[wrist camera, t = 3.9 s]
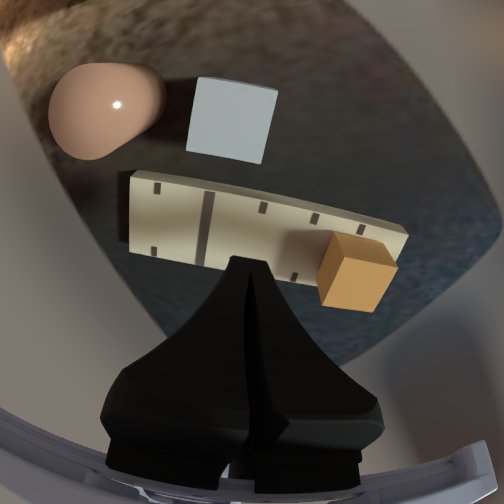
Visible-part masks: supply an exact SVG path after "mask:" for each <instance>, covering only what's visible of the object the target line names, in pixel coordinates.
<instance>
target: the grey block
mask: <svg viewBox="0 0 504 504" xmlns="http://www.w3.org/2000/svg"><path fill="white" fill-rule="evenodd" d="M277 94H278V91H277V90H276V89H274V88H270V87H265V86H260V85H255V84H250V83H245V82H239V81H234V80H228V79H222V78H215V77H198V81H197V86H196V92H195V97H194V103H193V109H192V114H191V120H190V127H189V133H188V140H187V146H186V151H192V152H198V153H204V154H210V155H216V156H221V157H227V158H232V159H237V160H242V161H247V162H252V163H257V164H261V161H262V156H263V152H264V148H265V144H266V140H267V135H268V131H269V127H270V123H271V119H272V115H273V111H274V107H275V103H276V98H277Z"/></svg>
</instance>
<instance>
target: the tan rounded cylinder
mask: <svg viewBox="0 0 504 504" xmlns="http://www.w3.org/2000/svg"><path fill="white" fill-rule="evenodd" d="M166 103H167V89H166V85H165V82H164V80H163V78H162V77H161V75H160V74H159V73H158V72H157V71H156V70H155V69H153V68H152V67H150V66H148V65H145V64H141V63H90V64H84V65H80V66H78V67H76V68H74V69H72V70H70V71H69V72H68V73H67V74H65V75H64V76H63V77H62V78H61V80H60V81H59V82H58V84H57V85H56V87H55V89H54V91H53V93H52V96H51V99H50V103H49V111H48V118H49V125H50V129H51V132H52V135H53V137H54V139H55V141H56V142H57V144H58V145H59V146H60V147H61V148H62V149H63V150H64V151H65V152H66V153H68V154H69V155H71V156H73V157H75V158H78V159H82V160H94V159H98V158H101V157H103V156H106V155H107V154H109V153H110V152H112V151H113V150H115V149H117V148H118V147H120V146H121V145H123V144H125V143H126V142H128V141H129V140H131V139H133V138H134V137H136V136H138V135H139V134H141V133H143V132H144V131H146V130H148V129H150V128H151V127H152V126H154V125H155V124H156V123H157V122H158V120H159V119H160V118H161V116H162V114H163V112H164V110H165V107H166Z"/></svg>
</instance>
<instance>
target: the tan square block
mask: <svg viewBox="0 0 504 504" xmlns="http://www.w3.org/2000/svg"><path fill="white" fill-rule="evenodd" d="M397 269H398V267H397V265H396V263H395V262H394V260H393V258H392V256H391V255H390V253H389V251H388V250H387V248H386V247H385V245H384V243H381V242H376V241H372V240H368V239H364V238H359V237H355V236H351V235H346V234H342V233H338V232H334V233H333V236H332V239H331V241H330V244H329V246H328V249H327V251H326V254H325V256H324V258H323V261H322V263H321V266H320V268H319V271H318V273H317V275H316V281H317V286H318V290H319V294H320V299H321V303H322V305H323V306H329V307H337V308H344V309H351V310H359V311H366V312H373V311H374V309H375V308H376V306H377V304H378V303H379V301H380V299H381V298H382V296H383V294H384V292H385V291H386V289H387V287H388V285H389V284H390V282H391V280H392V278H393V277H394V275H395V273H396V271H397Z"/></svg>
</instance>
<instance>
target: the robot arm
mask: <svg viewBox="0 0 504 504" xmlns="http://www.w3.org/2000/svg"><path fill="white" fill-rule="evenodd" d="M100 420H101V423H102V425H103V426H104V428H105V430H106V431H107V433H108V435H109V437H110V438H111V442H110V445H109V449H108V453H107V454H105V453H102V452H99V451H96V450H93V449H90V448H88V447H85V446H82V445H79V444H77V443H74V442H71V441H69V440H66V439H64V438H61V437H59V436H57V435H54V434H52V433H50V432H47V431H45V430H43V429H41V428H39V427H37V426H35V425H32V424H30V423H28V422H26V421H24V420H22V419H20V418H19V417H17V416H15V415H13V414H11V413H9V412H7V411H6V410H4V409H2V408H0V485H1V486H2V487H4V488H5V489H7V490H8V491H10V492H11V493H13V494H15V495H16V496H18V497H19V498H21V499H23V500H24V501H26V502H28V503H30V504H207V503H199V502H192V501H185V500H179V499H173V498H168V497H164V496H160V495H157V494H155V493H158V494H163V495H168V496H173V497H179V498H184V499H190V500H197V501H204V502H212V503H208V504H241V503H242V502H249V503H298V502H314V501H326V500H335V499H342V500H337V501H332V502H329V503H328V504H472V503H474V502H476V501H478V500H480V499H482V498H483V497H485V496H487V495H489V494H490V493H492V492H493V491H495V490H497V488H498V486H497V482H496V478H495V474H494V470H493V466H492V463H491V459H490V456H489V452H488V449H487V446H486V443H485V441H484V440H481V441H478V442H475V443H473V444H470V445H467V446H465V447H463V448H462V449H460V450H458V451H456V452H455V453H453V454H452V455H451V456H448V457H445V458H442V459H439V460H435V461H431V462H428V463H423V464H420V465H415V466H411V467H407V468H402V469H397V470H393V471H387V472H381V473H375V474H369V475H362V476H360V475H359V467H358V463H360V462H361V461H362V454H361V450H362V449H364V448H365V447H367V446H368V445H370V444H371V443H372V442H374V441H375V440H376V439H377V438H378V437H379V436H381V434H382V433H383V431H384V429H385V426H384V422H383V417H382V413H381V409H380V406H379V403H378V400H377V397H375V396H374V395H373V394H371V393H370V392H368V391H367V390H366V389H364V388H363V387H362V386H360V385H359V384H358V383H356V382H355V381H354V380H353V379H351V378H350V377H349V376H348V375H347V374H346V373H345V372H343V371H342V370H341V369H340V368H339V367H338V366H337V365H336V364H335V363H334V362H333V361H332V360H331V359H330V358H329V357H328V356H327V355H326V354H325V353H324V352H323V351H322V350H321V349H320V348H319V347H318V345H317V344H316V343H315V342H314V341H313V340H312V338H311V337H310V336H309V334H308V333H307V332H306V331H305V329H304V328H303V326H302V325H301V324H300V322H299V321H298V319H297V318H296V316H295V315H294V313H293V311H292V310H291V308H290V307H289V305H288V303H287V301H286V300H285V298H284V296H283V294H282V292H281V290H280V288H279V286H278V284H277V282H276V280H275V278H274V276H273V274H272V272H271V269H270V267H269V265H268V263H267V261H264V260H258V259H253V258H247V257H241V256H236V255H233V256H231V257H230V258H229V262H228V265H227V267H226V269H225V271H224V273H223V275H222V276H221V278H220V280H219V281H218V283H217V284H216V286H215V288H214V289H213V290H212V292H211V293H210V294H209V296H208V297H207V298H206V300H205V301H204V302H203V303H202V305H201V306H200V307H199V308H198V309H197V310H196V312H195V313H194V314H193V315H192V316H191V317H190V318H189V319H188V320H187V321H186V322H185V323H184V324H183V325H182V326H181V327H180V328H179V329H178V330H177V331H175V332H174V333H173V334H172V335H171V336H170V337H169V338H167V339H166V340H165V341H163V342H162V343H161V344H160V345H158V346H157V347H156V348H154V349H153V350H152V351H150V352H149V353H148V354H146V355H145V356H143V357H141V358H140V359H138V360H137V361H135V362H133V363H132V364H130V365H129V366H127V367H125V368H124V369H122V371H121V372H120V374H119V375H118V377H117V378H116V380H115V381H114V383H113V385H112V386H111V388H110V391H109V392H108V394H107V397H106V399H105V402H104V405H103V408H102V412H101V415H100ZM106 477H107V478H106ZM109 478H110V479H109ZM111 479H113V480H111ZM114 480H117V481H120V482H123V483H127V484H131V486H128V485H125V484H122V483H119V482H117V481H114ZM343 498H347V499H343Z"/></svg>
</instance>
